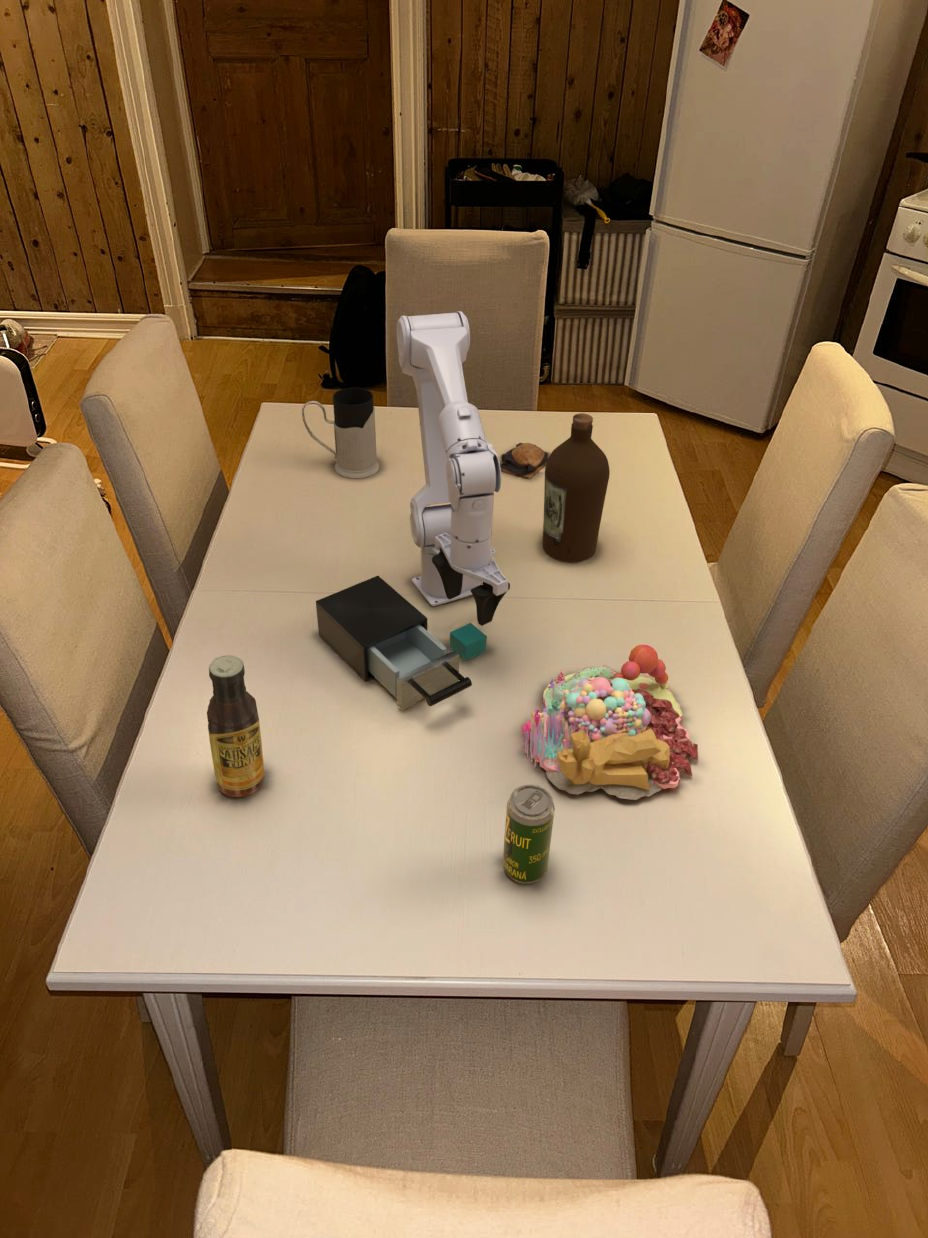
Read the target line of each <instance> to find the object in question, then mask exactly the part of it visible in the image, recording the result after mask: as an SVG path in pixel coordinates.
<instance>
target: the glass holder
mask: <svg viewBox="0 0 928 1238" xmlns="http://www.w3.org/2000/svg"><path fill="white" fill-rule="evenodd" d="M312 404H315V405H317V406H318V407H319V408H320V409H321V410H322V413H323V419H324V421H325V422H326V423H327V424H331V425H333V433H334V447H335V450H334V449H332V448H331V447H329V446H328V444H326V443H324V442H323V441H321V440H320V439H319V438H318V437H317V436H316V435H314V434H313V432H312V430H311V429H310V427H309V426H308V423H307V421H306V416H305V408H306V406H308V405H312ZM332 404H333V420H329V419H328V418H327V412H326V409H325V407H324V405H322V403H321V402H319V401H317V400H310V401H307V402H306V403H304V404H303V406H302V408H301V417H302V423H303V425H304V427H305V430H306V431H307V432H308V434H309V435H310V437H311V438H312V439H313V440H314V441H315V442H317V443H318V444H319V445H321V446H322V447H323V448H324V449H326V450H327V451H329V452H330V453H331V454H333V456H334V460H336V461H335V465H334V471H335V472H336V474H337V475H340V476H341V477H343V478H347V479H364V478H369V477H371V476H373V475H375V474H377V472H378V471H379V470H380V464H379V462H378V457H377V454H378V453H377V434H376V413H375V412H376V411H375V406H374V394H373V392H372V391H370V390H368V389H366V388H362V387H345V388H342V389H339V390H337V391H336V392H334V394H333V395H332Z"/></svg>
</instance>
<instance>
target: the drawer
mask: <svg viewBox="0 0 928 1238" xmlns="http://www.w3.org/2000/svg"><path fill="white" fill-rule="evenodd" d="M367 659H368V671H369V672H370V673H371V674H372V675H373V676H374V677H375V678H374V679H376V680H377V681H378V682H379V683H380V684H381V685H382V686H383V687H384V688H385V689H386V690H387V691H388V692H389V693H390V694H391V695H392V696H393V697H394V698H396V705H397V706H398V707H399V708H400V709H401V710H404V709H406V708H408V707H410V706H413V705H414V704H416V703H418V702H421V701H422V700H425V703H426V705H427V706H428V707H433V706H435V705H437V704H439V703H441V702H442V701H445V700H446V699H449V698H450V697H453V696H455V695H457V694H458V693H460V692H462V691H464V690H466V689H469V688H470V687H472V685H473V682H472V680H471V678H470V677H468V676H464V675H463V674H461V673H460V656H459V654H458V653H457V652H456V651H455V650H454V651H453V650H452V651H450V652H448V649H447V647H446V646H445V645H444V644H443V643H442V642H441V641H440V640H439V639H437V638H436V637H435V636H433V634H432V633H430V632H429V631H427V630H426V629H425V628H423V627H422V626H421V625H418V626H416V627H414V628H412V629H409V630H407V631H405V632H403V633H401V634H398V635H396V636H394V637H392V638H390V639H387V640H385V641H383V642H381V643H379V644H376V645H374V646H372V647H370V648H368V649H367Z"/></svg>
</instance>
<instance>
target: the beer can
mask: <svg viewBox="0 0 928 1238" xmlns="http://www.w3.org/2000/svg"><path fill="white" fill-rule="evenodd" d="M555 810H556V808H555V803H554V799H553V796H552V795H551V793H550V792H549V791H548V790H547V789H546V788H544V787H542V786H540V785H536V784H524V785H520V786H518V787H516V788H515V789H514V790H513V791H512V792H511V793H510V795H509V798H508V800H507V804H506V811H505V825H504V826H505V827H504V838H503V851H502V852H503V853H502V866H503V869H504V871H505V873H506V875H507V876H508V877H509V878H510V879H511V880H513V882H516V883H519V884H523V885H531V884H533V883H536V882H538V881H539V880H540V879H542V878H543V877H544V876H545V874H546V873H547V871H548V867H549V859H550V851H551V850H550V849H551V842H552V833H553V825H554V819H555Z"/></svg>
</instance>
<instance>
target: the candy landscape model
mask: <svg viewBox="0 0 928 1238" xmlns="http://www.w3.org/2000/svg"><path fill="white" fill-rule="evenodd" d="M666 669H667V666H666V663H665V661H663V660H662V659H660V658H659V655H658V652H657V651H656V650H655V648H654V647H653V646H651V645H649V644H638V645H636V646H635V647H634V648H632V649H631V650H630V653H629V656H628V661H626V662H624V663H623V664H622V666H621V668H620V672H616V671H615V670H614V669H612V668H611V666H610V665H608V664H607V665H605V664H604V665H599V666H589V667H585V668H583V669H582V670H579V671H578V672H575V673H574V672H573V673H569V674H568V675H564V672H562V671H563V670H562V669H560V671H559V674H558V675H557V678H558V679H556V680H555V681H554V680H553V679H551V681H550V683H549V684H548V685H547V686H546V688H545V689H544V690H543V695H542V703H543V704H544V708H543V709H542V712H540V708H537V710H534V712H532V713H531V716H530V720H527V721H526V722H525V724H523V725H522V726H521V732H522V733H523V743H525V744H524V745H525V748H524V754H526V759H528V758H529V752H530V763H532V764H533V759H534V767H533V768H534V769H536V768H537V765H538V764H539V767H540V768H542V769H543V770H544V771H545V774H546V778H547V779H548V780H549V781H550V783H552V784H553V785H554V786H555V788H557V789H558V790H559V791H565V792H567V793H568V794H570V795H581V794H583V793H584V792H589V793H593V792H595V791H597V790H600V789H601V790H603V791H604V792H605V793H606V794H608V795H611V796H616V798H619V799H624V800H633V801H637V800H639V799H641V798H642V797H651V796H652V795H655V794H657V793H659V792H660V791H661V790H663V789H664V790H666V789H668V788H671V789H675V788H678V786H679V784H680V783H681V779H680V773H681V774H684V775H688V776H692V777H693V772H692V766H691V762H690V761H689V759H690V758H691V759H693V760H696V761H698V759H699V752H698V751H699V747H698V745H699V744H697V743H694V742H692V741H691V739H690V731H689V730H687V729H686V728H684V727H683V726H682V725H681V720H682V719H683V715H684V713H683V712H682V710H681V707H680V706H681V705H680V703H679V702H678V701H676V698H675V696H674V695H673V691H671V689H669V688H668V686H669V684H668V681H669V674H668V673H667V672H666ZM640 674H647V675H648V676H649V677H647V676H641V675H640ZM650 677H652V678H654V679H651V678H650Z"/></svg>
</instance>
